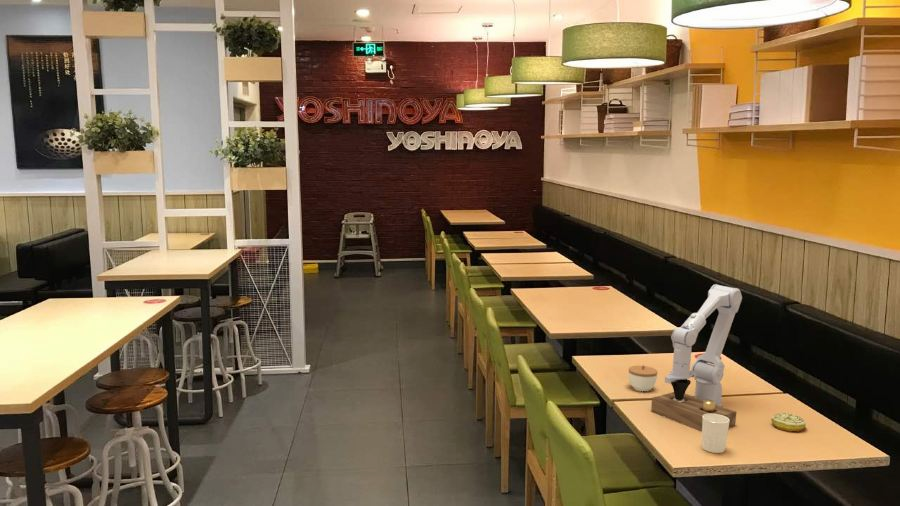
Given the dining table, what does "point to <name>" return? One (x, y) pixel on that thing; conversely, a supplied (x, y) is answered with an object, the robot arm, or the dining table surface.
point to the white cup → (714, 432)
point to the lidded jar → (642, 377)
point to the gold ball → (708, 406)
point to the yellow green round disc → (788, 422)
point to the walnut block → (687, 410)
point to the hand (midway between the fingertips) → (678, 399)
